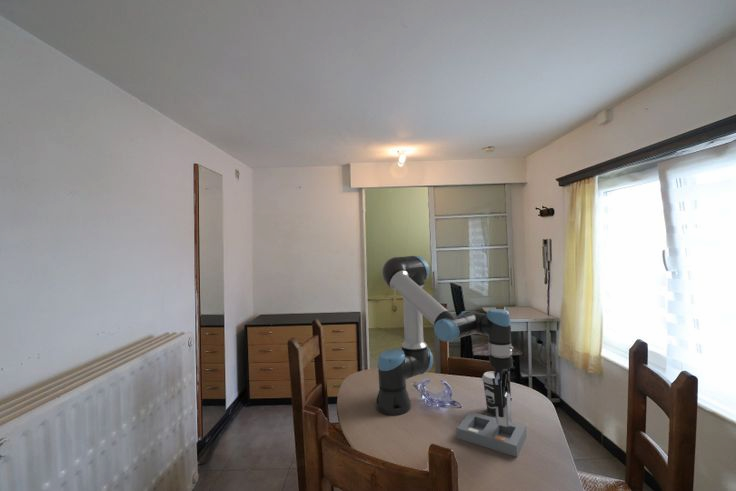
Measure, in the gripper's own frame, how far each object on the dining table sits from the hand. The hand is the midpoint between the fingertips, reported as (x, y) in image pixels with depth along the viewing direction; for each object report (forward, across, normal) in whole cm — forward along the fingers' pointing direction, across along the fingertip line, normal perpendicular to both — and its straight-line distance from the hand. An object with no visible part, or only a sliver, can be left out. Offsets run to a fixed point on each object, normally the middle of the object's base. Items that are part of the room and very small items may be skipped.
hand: (504, 422), depth 115 cm
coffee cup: (+7, +19, +8) cm, 22 cm away
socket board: (+7, 0, +4) cm, 8 cm away
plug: (0, 0, 0) cm, 0 cm away
